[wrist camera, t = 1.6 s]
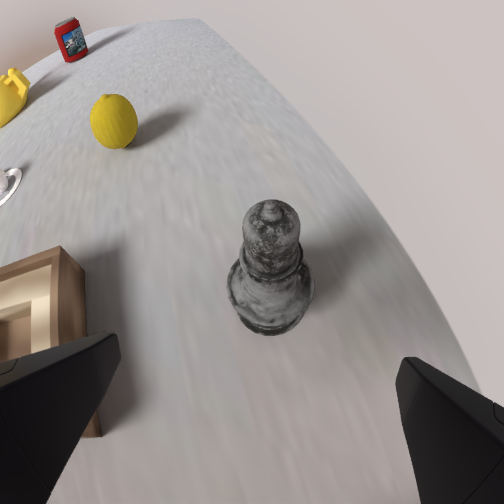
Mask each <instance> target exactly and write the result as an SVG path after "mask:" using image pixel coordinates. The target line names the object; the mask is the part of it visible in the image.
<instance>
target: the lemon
mask: <svg viewBox="0 0 504 504" xmlns="http://www.w3.org/2000/svg"><path fill="white" fill-rule="evenodd" d="M90 124H91V128H92V131H93V134H94V136H95V138H96V139H97V140H98V142H99V143H101V144H102V145H103V146H105V147H107V148H110V149H118V148H125V147H126V146H127V145H128V144H129V143H130V142H131V141H132V140H133V138H134V137H135V135H136V133H137V128H138V120H137V116H136V113H135V110H134V108H133V106H132V105H131V103H130V102H129V101H128V100H127V99H126V98H125V97H123V96H121V95H117V94H109V95H107V94H104V95H102V96H101V98H100V99H99V100H98V101H97V102H96V103H95V104H94V106H93V108H92V110H91V114H90Z"/></svg>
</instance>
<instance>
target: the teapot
mask: <svg viewBox="0 0 504 504" xmlns="http://www.w3.org/2000/svg"><path fill="white" fill-rule="evenodd" d="M29 86H30V82H29V81H28V79H27V78H26V77H25V76H24V75H23V74H22V73H21V72H20V71H19V70H17V68H11V69H9V70H8V76H7V75H2V76H0V128H1V127H3V126H4V125H5V124H7V123H8V122H9V121H10V120H11V119H13V118H14V117H15V116H16V115H17V114H18V113H19V112H20V111H21V109H22V108H23V107H24V105H25V103H26V100H27V95H28V92H27V91H28V88H29Z"/></svg>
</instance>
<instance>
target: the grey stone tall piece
mask: <svg viewBox="0 0 504 504" xmlns="http://www.w3.org/2000/svg"><path fill="white" fill-rule="evenodd" d="M242 230H243V238H244V242H243V243H242V246H241V248H240V253H239V258H238V259H237V261H236V262H235V263H234V265H233V266H232V267H231V270H230V272H229V275H228V279H227V292H228V297H229V300H230V302H231V304H232V305H233V307H234V309H235V310H236V311H237V313H238V315H239V317H240V319H241V321H242V322H243V324H244V325H245V326H246V327H247V328H248V329H250V330H252V331H253V332H255V333H258V334H261V335H265V336H275V335H280V334H283V333H285V332H287V331H289V330H291V329H292V328H293V327H294V326H295V325H297V324H298V322H299V321H300V319H301V317H302V316H303V313H304V312H305V311H306V309H307V308H308V306H309V304H310V303H311V301H312V298H313V294H314V290H315V283H314V277H313V274H312V271H311V268H310V267H309V265H308V264H307V262H306V261H305V260H304V259H303V250H302V247H301V244H300V242H299V236H300V220H299V217H298V214H297V213H296V211H295V210H294V209H293V208H292V207H291V206H290V205H288V204H287V203H284V202H282V201H279V200H265V201H262V202H259V203H257V204H255V205H254V206H253V207H251V208H250V209H249V210H248V212H247V213H246V215H245V217H244V220H243V227H242Z"/></svg>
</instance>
